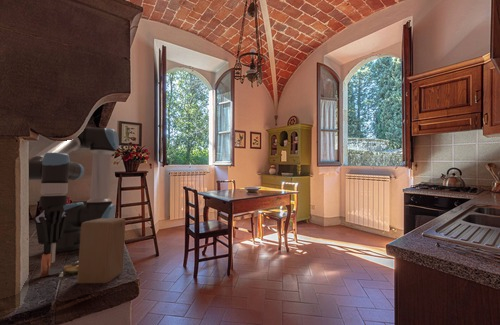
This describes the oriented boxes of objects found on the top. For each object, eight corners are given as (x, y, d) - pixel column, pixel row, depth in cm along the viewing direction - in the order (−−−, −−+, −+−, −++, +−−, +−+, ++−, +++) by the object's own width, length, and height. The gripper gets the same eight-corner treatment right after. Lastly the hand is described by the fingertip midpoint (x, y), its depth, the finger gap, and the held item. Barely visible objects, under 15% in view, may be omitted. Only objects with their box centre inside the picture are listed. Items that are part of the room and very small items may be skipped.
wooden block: (123, 274, 82) (126, 217, 84) (107, 286, 72) (110, 221, 74) (95, 274, 82) (99, 218, 84) (75, 286, 72) (79, 222, 74)
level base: (62, 272, 84) (63, 265, 84) (92, 268, 88) (92, 261, 89) (56, 281, 76) (57, 273, 76) (89, 275, 81) (89, 268, 81)
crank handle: (37, 279, 74) (39, 257, 75) (42, 272, 80) (44, 252, 81) (86, 271, 81) (88, 251, 82) (88, 265, 87) (89, 247, 88)
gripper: (57, 194, 89) (53, 257, 86) (26, 196, 76) (20, 269, 74) (77, 194, 89) (73, 256, 87) (49, 195, 76) (44, 268, 74)
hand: (49, 262), depth 80 cm, fingers closed
